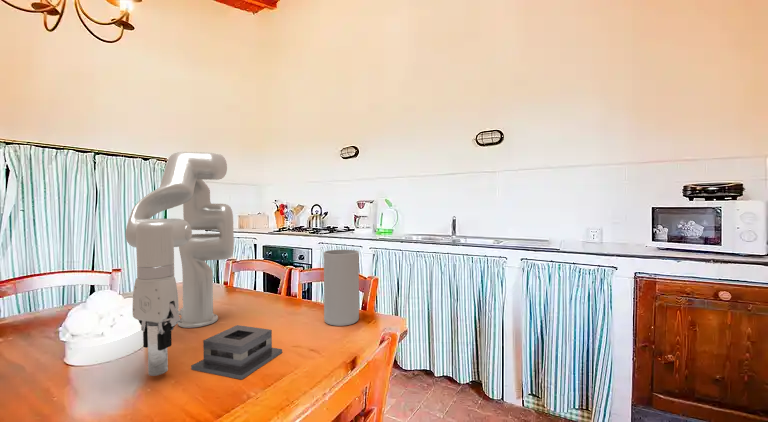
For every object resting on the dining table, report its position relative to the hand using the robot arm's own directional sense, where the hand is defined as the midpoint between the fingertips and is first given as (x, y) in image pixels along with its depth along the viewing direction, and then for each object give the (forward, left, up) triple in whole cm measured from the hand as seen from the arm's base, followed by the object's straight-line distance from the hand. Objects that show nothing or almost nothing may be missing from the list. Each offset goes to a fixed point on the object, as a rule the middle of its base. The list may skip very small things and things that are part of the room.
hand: (157, 346), depth 84 cm
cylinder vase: (+24, +52, -8) cm, 58 cm away
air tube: (0, 0, -6) cm, 6 cm away
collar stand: (+12, +14, -8) cm, 20 cm away
